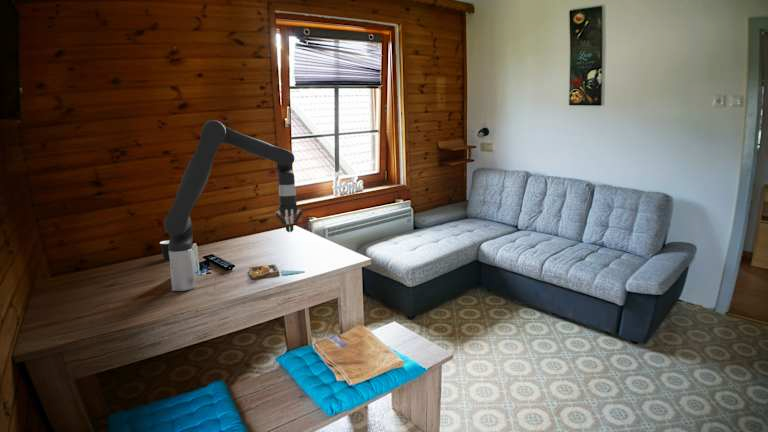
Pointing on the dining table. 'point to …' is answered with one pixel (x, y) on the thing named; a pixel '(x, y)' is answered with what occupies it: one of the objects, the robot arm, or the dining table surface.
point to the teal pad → (290, 272)
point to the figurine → (258, 272)
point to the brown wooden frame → (268, 274)
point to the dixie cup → (165, 250)
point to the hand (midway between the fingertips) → (289, 231)
